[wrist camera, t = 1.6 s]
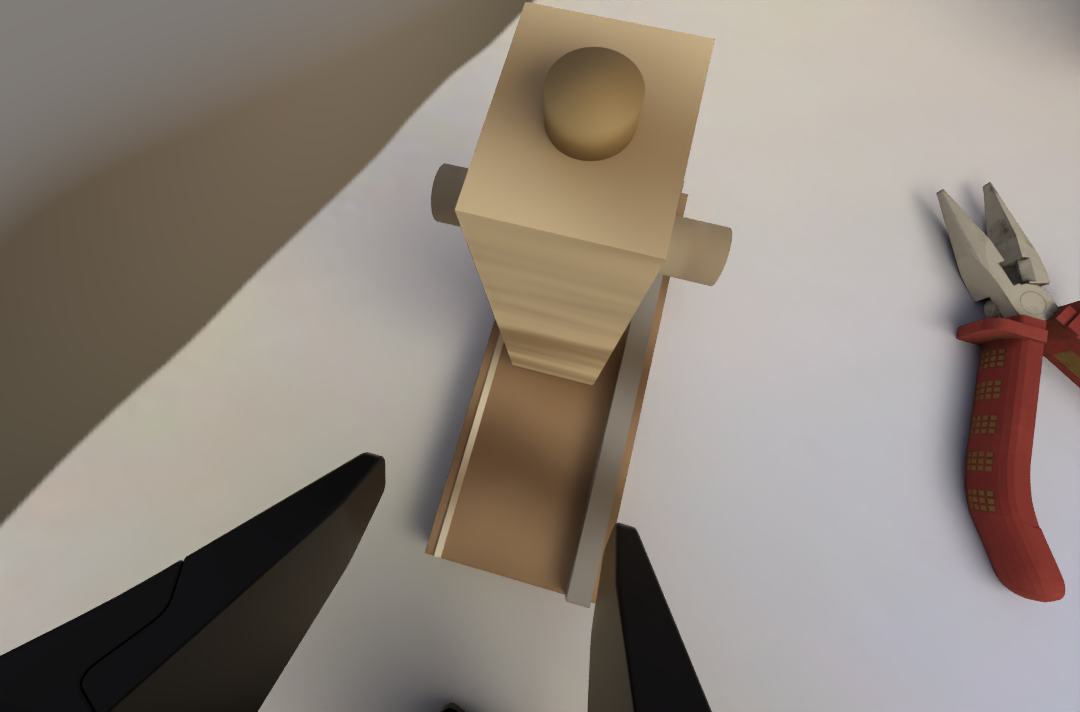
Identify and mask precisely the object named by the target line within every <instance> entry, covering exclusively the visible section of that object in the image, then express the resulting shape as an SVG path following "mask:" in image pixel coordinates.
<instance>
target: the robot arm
mask: <svg viewBox="0 0 1080 712" xmlns="http://www.w3.org/2000/svg"><path fill="white" fill-rule="evenodd" d="M384 488H385V459H384V458H383V457H382V456H379V455H376V454H372V453H368V452H366V453H362V454H360V455H359V456H357V457H355V458H354V459H352V460H350V461H348V462H347V463H345V464H343V465H342V466H340V467H338V468H337V469H335V470H333V471H331V472H330V473H328V474H326V475H325V476H323V477H321V478H320V479H318V480H316V481H314V482H313V483H311V484H309V485H308V486H306V487H304V488H303V489H301V490H299V491H297V492H296V493H294V494H292V495H291V496H289V497H287V498H286V499H284V500H282V501H280V502H279V503H277V504H275V505H274V506H272V507H270V508H268V509H267V510H265V511H263V512H262V513H260V514H258V515H257V516H255V517H253V518H251V519H250V520H248V521H246V522H245V523H243V524H241V525H240V526H238V527H236V528H234V529H233V530H231V531H229V532H228V533H226V534H224V535H223V536H221V537H219V538H217V539H216V540H214V541H212V542H211V543H209V544H207V545H206V546H204V547H202V548H200V549H199V550H197V551H195V552H194V553H192V554H190V555H189V556H187V557H186V558H185V559H184V561H183V560H180V561H178V562H176V563H175V564H173V565H171V566H170V567H168V568H166V569H164V570H163V571H161V572H159V573H158V574H156V575H154V576H152V577H151V578H149V579H147V580H145V581H144V582H142V583H140V584H138V585H136V586H135V587H133V588H131V589H129V590H128V591H126V592H124V593H122V594H120V595H119V596H117V597H115V598H113V599H111V600H109V601H107V602H105V603H103V604H101V605H100V606H98V607H96V608H94V609H92V610H90V611H88V612H86V613H84V614H82V615H80V616H78V617H77V618H75V619H73V620H71V621H69V622H67V623H65V624H63V625H61V626H59V627H57V628H55V629H53V630H51V631H49V632H47V633H45V634H43V635H41V636H39V637H37V638H35V639H33V640H31V641H29V642H27V643H25V644H23V645H21V646H19V647H17V648H15V649H13V650H11V651H9V652H7V653H5V654H3V655H1V656H0V712H258V710H259V708H260V707H261V705H262V704H263V702H264V700H265V699H266V697H267V696H268V694H269V692H270V691H271V689H272V687H273V686H274V684H275V683H276V681H277V679H278V678H279V676H280V674H281V673H282V671H283V670H284V668H285V666H286V665H287V663H288V662H289V660H290V658H291V657H292V655H293V653H294V652H295V650H296V649H297V647H298V645H299V644H300V642H301V641H302V639H303V637H304V636H305V634H306V632H307V631H308V629H309V628H310V626H311V624H312V623H313V621H314V619H315V618H316V616H317V615H318V613H319V611H320V610H321V608H322V607H323V605H324V603H325V602H326V600H327V598H328V597H329V595H330V594H331V592H332V590H333V589H334V587H335V585H336V584H337V582H338V581H339V579H340V577H341V576H342V574H343V573H344V571H345V569H346V567H347V566H348V564H349V562H350V560H351V558H352V556H353V554H354V552H355V550H356V548H357V546H358V544H359V542H360V540H361V538H362V536H363V534H364V532H365V530H366V528H367V526H368V523H369V521H370V519H371V517H372V515H373V513H374V511H375V509H376V507H377V505H378V503H379V501H380V498H381V496H382V494H383V492H384ZM440 712H465V711H464V710H463V709H462V708H460V707H459V706H458V705H456V704H454V703H449V704H447V705H445V706H444V707H443V708H442V710H441V711H440ZM588 712H712V711H711V709H710V706H709V704H708V701H707V699H706V697H705V694H704V692H703V689H702V687H701V684H700V682H699V679H698V677H697V675H696V672H695V670H694V667H693V665H692V662H691V660H690V658H689V655H688V653H687V650H686V648H685V645H684V643H683V641H682V638H681V636H680V633H679V631H678V628H677V626H676V624H675V621H674V619H673V616H672V614H671V611H670V609H669V607H668V604H667V602H666V599H665V597H664V594H663V592H662V590H661V587H660V585H659V582H658V580H657V577H656V575H655V573H654V570H653V568H652V565H651V563H650V560H649V558H648V556H647V553H646V551H645V548H644V546H643V543H642V541H641V539H640V536H639V534H638V531H637V530H636V529H635V528H634V527H632V526H628V525H625V524H621V523H616V524H615V525H614V527H613V529H612V532H611V534H610V537H609V539H608V542H607V544H606V547H605V550H604V554H603V559H602V565H601V572H600V578H599V585H598V591H597V598H596V604H595V611H594V617H593V624H592V632H591V645H590V666H589V690H588Z"/></svg>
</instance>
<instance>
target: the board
mask: <svg viewBox="0 0 1080 712" xmlns="http://www.w3.org/2000/svg"><path fill="white" fill-rule="evenodd" d="M683 183H684V181H683ZM682 188H683V185H682ZM681 192H682V189H681ZM687 196H688V194H684V193H681V194H680V198H679V203H678V207H677V212H676V216H680V217H683V215H684V210H685V205H686V201H687ZM669 279H670V276H666V275H662V274H657V276H656V277H655V279H654V281H653V283H652V284H651V286H650V288H649V289H648V291H647V293H646V295H645V296H644V298H643V300H642V302H641V303H640V305H639V307H638V308H637V310H636V312H635V314H634V315H633V317H632V319H631V321H630V322H629V324H628V326H627V327H626V329H625V331H624V333H623V334H622V336H621V338H620V340H619V341H618V343H617V345H616V346H615V348H614V350H613V352H612V353H611V355H610V357H609V359H608V360H607V362H606V364H605V365H604V367H603V369H602V371H601V372H600V374H599V376H598V378H597V379H596V381H595V383H594V384H593V385H589V384H585V383H581V382H577V381H573V380H569V379H566V378H562V377H558V376H554V375H550V374H546V373H542V372H539V371H535V370H531V369H527V368H523V367H519V366H515V365H512V362H511V359H510V357H509V354H508V351H507V349H506V346H505V343H504V341H503V338H502V335H501V333H500V330H499V327H498V325H497V322H496V319H495V322H494V325H493V328H492V331H491V335H490V338H489V341H488V345H487V348H486V351H485V355H484V358H483V361H482V365H481V368H480V371H479V375H478V378H477V381H476V385H475V388H474V391H473V395H472V398H471V401H470V405H469V408H468V411H467V415H466V418H465V421H464V424H463V428H462V431H461V434H460V438H459V441H458V444H457V448H456V451H455V454H454V458H453V461H452V464H451V468H450V471H449V474H448V478H447V481H446V484H445V488H444V491H443V494H442V498H441V501H440V504H439V508H438V511H437V514H436V517H435V521H434V524H433V527H432V531H431V534H430V537H429V541H428V544H427V547H426V551H425V553H426V554H430V555H433V556H435V557H438V558H443V559H447V560H450V561H454V562H457V563H460V564H464V565H467V566H470V567H474V568H477V569H481V570H484V571H487V572H491V573H494V574H498V575H501V576H504V577H508V578H511V579H514V580H518V581H521V582H525V583H528V584H531V585H535V586H538V587H542V588H545V589H548V590H552V591H555V592H558V593H562V594H565V596H566V601H567V602H570V603H574V604H577V605H580V606H584V607H587V608H590V604H591V602H592V603H596V598H597V591H598V585H599V578H600V572H601V565H602V559H603V554H604V550H605V547H606V544H607V542H608V539H609V537H610V534H611V532H612V529H613V527H614V525H615V524H616V522H617V518H618V513H619V509H620V504H621V499H622V495H623V490H624V486H625V481H626V476H627V472H628V467H629V463H630V458H631V454H632V449H633V444H634V440H635V435H636V431H637V426H638V421H639V417H640V412H641V408H642V403H643V398H644V394H645V389H646V385H647V380H648V375H649V371H650V366H651V362H652V357H653V352H654V348H655V343H656V339H657V334H658V329H659V325H660V320H661V316H662V311H663V306H664V302H665V297H666V293H667V288H668V283H669Z"/></svg>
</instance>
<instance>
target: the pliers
mask: <svg viewBox="0 0 1080 712" xmlns="http://www.w3.org/2000/svg"><path fill="white" fill-rule="evenodd" d="M983 191H984V203H985V215H986V227H987V236H986V235H985V234H984V233H983V231H982V230H981V229H980V228H979V227H978V226H977V225H976V224H975V223H974V222H973V221H972V220H971V218H970V217H969V216H968V215H967V214H966V213H965V212H964V211H963V210H962V209H961V208H960V207H959V206H958V204H957V203H956V202H955V201H954V200H953V199H952V198H951V197H950V196H949V195H948V194H947V193H946V191H945V190H944V189H942V190H940V191H939V192H937V197H938V200H939V204H940V207H941V210H942V214H943V217H944V221H945V224H946V227H947V231H948V234H949V238H950V241H951V244H952V248H953V251H954V255H955V258H956V261H957V265H958V268H959V272H960V274H961V277H962V279H963V281H964V283H965V285H966V288H967V290H968V292H969V294H970V295H971V297H972V298H973V300H974V302H976V301H979V300H982V299H985V298H988V297H990V298H989V299H988V300H987V301H986V302H985V305H984V314H985V318H986V319H982V320H979V321H975V322H972V323H969V324H966V325H963V326H960V327H959V328H958V333H957V339H959V340H963V341H966V342H969V343H972V344H976V345H979V346H981V353H980V360H979V367H978V375H977V382H976V389H975V396H974V403H973V410H972V418H971V425H970V432H969V439H968V446H967V453H966V466H965V484H966V497H967V502H968V506H969V511H970V514H971V516H972V519H973V521H974V523H975V526H976V528H977V531H978V533H979V535H980V538H981V540H982V542H983V545H984V547H985V549H986V552H987V554H988V556H989V559H990V561H991V563H992V566H993V568H994V571H995V573H996V575H997V577H998V578H999V580H1000V581H1001V582H1002V584H1003V585H1005V586H1006V587H1007V588H1008V589H1009V590H1011V591H1012V592H1014V593H1015V594H1017V595H1019V596H1022V597H1024V598H1027V599H1031V600H1035V601H1040V602H1051V601H1056V600H1060V599H1062V598H1063V596H1064V595H1065V584H1064V580H1063V578H1062V575H1061V573H1060V571H1059V568H1058V566H1057V564H1056V562H1055V559H1054V557H1053V555H1052V553H1051V550H1050V548H1049V546H1048V544H1047V541H1046V539H1045V537H1044V535H1043V532H1042V530H1041V528H1039V525H1038V522H1037V519H1036V515H1035V512H1034V507H1033V503H1032V497H1031V487H1030V464H1031V455H1032V447H1033V438H1034V429H1035V420H1036V411H1037V402H1038V393H1039V384H1040V375H1041V366H1042V357H1043V356H1045V357H1046V358H1047V359H1048V360H1049V361H1050V362H1051V363H1053V364H1054V365H1055V366H1056V367H1057V368H1058V369H1059V370H1060V371H1062V372H1063V373H1064V374H1065V375H1066V376H1067V377H1068V378H1069V379H1071V380H1072V381H1073V382H1074V383H1075V384H1076V385H1077V386H1079V387H1080V301H1077V302H1074V303H1070V304H1067V305H1064V306H1060V307H1058V306H1057V305H1056V303H1055V302H1054V301H1053V299H1052V298H1051V296H1050V295H1049V293H1048V292H1047V291H1046V290H1045V289H1043V288H1042V287H1041V286H1044V285H1047V284H1049V283H1050V282H1049V279H1048V275H1047V272H1046V270H1045V268H1044V266H1043V263H1042V261H1041V259H1040V257H1039V255H1038V253H1037V252H1036V250H1035V249H1034V247H1033V246H1032V244H1031V243H1030V241H1029V240H1028V238H1027V237H1026V235H1025V234H1024V232H1023V231H1022V229H1021V228H1020V226H1019V225H1018V223H1017V222H1016V220H1015V219H1014V217H1013V216H1012V214H1011V213H1010V211H1009V210H1008V208H1007V206H1006V205H1005V203H1004V202H1003V200H1002V199H1001V197H1000V196H999V194H998V193H997V191H996V190H995V188H994V187H993V185H992V184H991V182H989V183H988V184H986V185H985V186H983Z"/></svg>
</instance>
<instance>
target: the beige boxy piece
mask: <svg viewBox="0 0 1080 712" xmlns="http://www.w3.org/2000/svg"><path fill="white" fill-rule="evenodd" d="M714 40H715V39H712V38H707V37H702V36H697V35H692V34H687V33H681V32H676V31H671V30H666V29H661V28H656V27H651V26H646V25H641V24H635V23H630V22H625V21H620V20H615V19H610V18H605V17H600V16H594V15H589V14H584V13H579V12H574V11H569V10H564V9H559V8H554V7H548V6H543V5H538V4H533V3H528V2H525V5H524V8H523V11H522V14H521V17H520V19H519V22H518V25H517V28H516V31H515V34H514V37H513V40H512V43H511V46H510V49H509V52H508V55H507V58H506V61H505V64H504V66H503V69H502V72H501V75H500V78H499V81H498V84H497V87H496V90H495V93H494V96H493V99H492V102H491V105H490V108H489V111H488V113H487V116H486V119H485V122H484V125H483V128H482V131H481V134H480V137H479V140H478V143H477V146H476V149H475V152H474V155H473V158H472V160H471V163H470V166H469V169H468V168H463V167H459V166H454V165H450V164H443V165H441V167H440V168H439V170H438V171H437V174H436V176H435V179H434V183H433V188H432V195H431V209H432V214H433V217H434V219H435V220H436V221H438V222H442V223H447V224H451V225H455V226H459V227H461V228H462V231H463V234H464V236H465V239H466V242H467V244H468V247H469V250H470V252H471V255H472V258H473V260H474V263H475V266H476V268H477V271H478V274H479V276H480V279H481V282H482V284H483V287H484V290H485V292H486V295H487V298H488V300H489V303H490V306H491V308H492V311H493V314H494V317H495V319H496V322H497V325H498V327H499V330H500V333H501V335H502V338H503V341H504V343H505V346H506V349H507V351H508V354H509V357H510V359H511V362H512V365H515V366H519V367H523V368H527V369H531V370H535V371H539V372H542V373H546V374H550V375H554V376H558V377H562V378H566V379H569V380H573V381H577V382H581V383H585V384H589V385H593V384H594V383H595V381H596V379H597V378H598V376H599V374H600V372H601V371H602V369H603V367H604V365H605V364H606V362H607V360H608V359H609V357H610V355H611V353H612V352H613V350H614V348H615V346H616V345H617V343H618V341H619V340H620V338H621V336H622V334H623V333H624V331H625V329H626V327H627V326H628V324H629V322H630V321H631V319H632V317H633V315H634V314H635V312H636V310H637V308H638V307H639V305H640V303H641V302H642V300H643V298H644V296H645V295H646V293H647V291H648V289H649V288H650V286H651V284H652V283H653V281H654V279H655V277H656V276H657V274H662V275H666V276H670V277H675V278H679V279H683V280H687V281H691V282H696V283H700V284H704V285H708V286H713V285H714V284H715V283H716V281H717V280H718V278H719V277H720V275H721V273H722V270H723V268H724V266H725V263H726V260H727V257H728V254H729V250H730V246H731V241H732V230H731V228H728V227H724V226H720V225H715V224H711V223H706V222H702V221H697V220H693V219H689V218H684V217H680V216H676V212H677V207H678V203H679V198H680V194H681V189H682V185H683V180H684V176H685V171H686V167H687V162H688V158H689V153H690V149H691V144H692V140H693V135H694V130H695V126H696V121H697V117H698V112H699V108H700V103H701V99H702V94H703V90H704V85H705V81H706V76H707V72H708V67H709V63H710V58H711V54H712V49H713V45H714Z"/></svg>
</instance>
